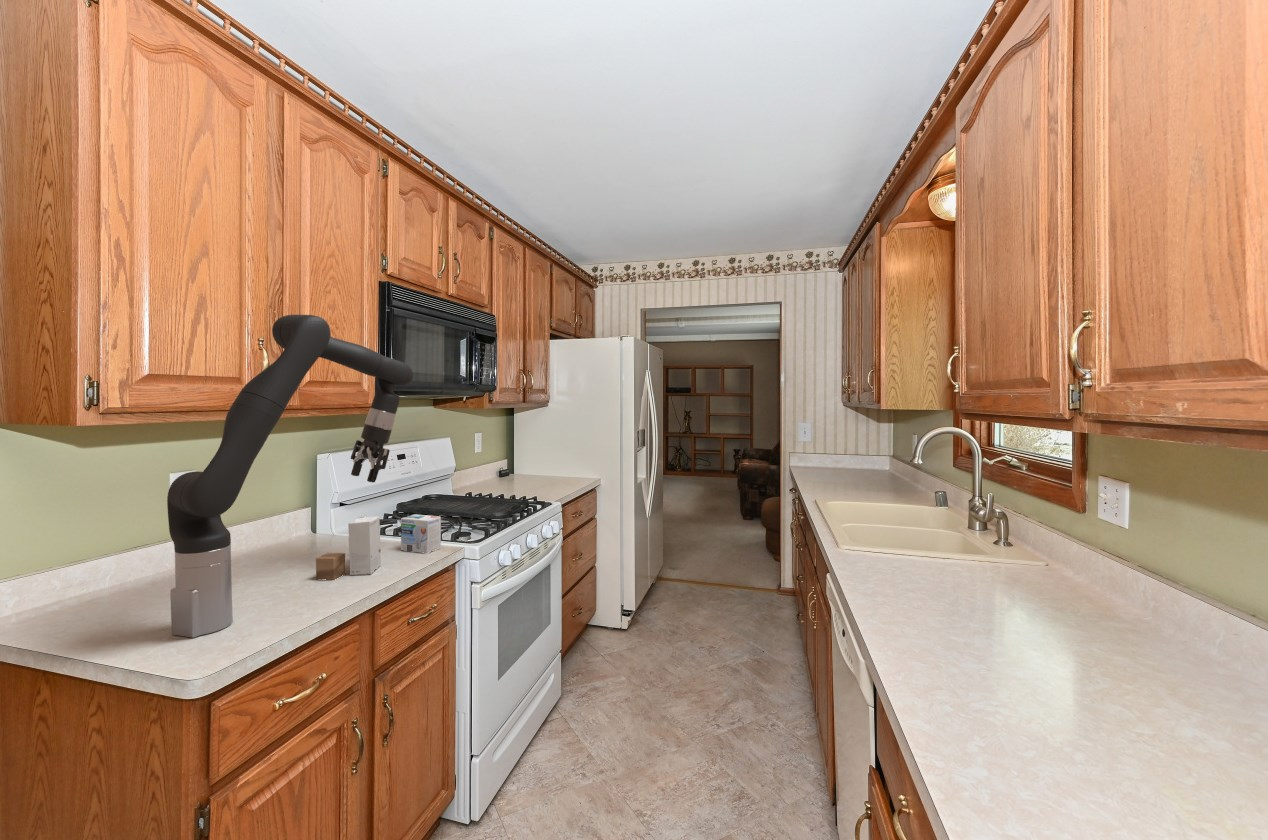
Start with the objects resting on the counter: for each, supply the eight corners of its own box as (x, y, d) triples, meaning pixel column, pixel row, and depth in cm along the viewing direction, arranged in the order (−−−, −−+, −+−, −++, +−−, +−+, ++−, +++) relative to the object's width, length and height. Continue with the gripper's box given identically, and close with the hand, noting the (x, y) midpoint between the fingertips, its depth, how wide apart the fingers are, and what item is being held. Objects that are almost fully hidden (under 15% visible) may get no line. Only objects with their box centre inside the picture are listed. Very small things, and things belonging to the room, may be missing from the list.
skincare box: (371, 575, 145) (370, 522, 144) (348, 575, 144) (347, 522, 144) (381, 565, 153) (380, 515, 153) (359, 566, 153) (359, 515, 152)
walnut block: (333, 580, 141) (333, 558, 140) (316, 580, 141) (315, 558, 141) (345, 574, 146) (345, 553, 145) (328, 574, 146) (328, 552, 146)
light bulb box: (400, 551, 168) (399, 518, 168) (414, 545, 174) (414, 513, 174) (428, 554, 165) (427, 520, 164) (441, 548, 171) (441, 516, 171)
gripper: (353, 419, 156) (337, 472, 155) (381, 427, 149) (364, 482, 147) (376, 424, 162) (361, 475, 161) (404, 432, 155) (388, 485, 153)
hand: (362, 478), depth 154 cm, fingers open, 8 cm apart
